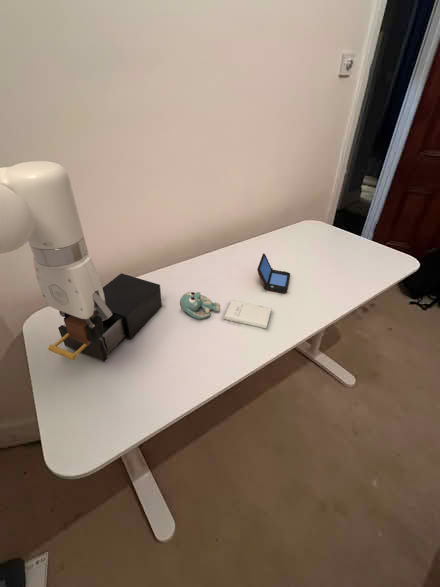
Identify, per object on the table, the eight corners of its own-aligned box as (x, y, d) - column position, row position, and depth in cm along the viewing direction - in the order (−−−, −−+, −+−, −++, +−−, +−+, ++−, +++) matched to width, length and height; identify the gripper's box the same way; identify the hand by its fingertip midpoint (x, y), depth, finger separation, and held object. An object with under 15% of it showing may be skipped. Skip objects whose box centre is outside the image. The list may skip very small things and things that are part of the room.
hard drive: (266, 329, 86) (224, 319, 88) (270, 311, 92) (231, 303, 95) (267, 325, 85) (224, 315, 87) (271, 307, 91) (231, 299, 94)
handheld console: (286, 294, 99) (290, 276, 95) (254, 288, 102) (256, 269, 97) (290, 275, 109) (294, 257, 105) (260, 269, 111) (263, 251, 107)
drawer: (87, 379, 69) (81, 361, 65) (46, 362, 72) (38, 343, 69) (139, 325, 84) (136, 307, 80) (103, 312, 88) (99, 295, 84)
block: (88, 345, 56) (82, 328, 53) (69, 337, 57) (63, 320, 54) (104, 330, 59) (99, 313, 56) (86, 323, 60) (81, 306, 58)
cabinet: (131, 339, 81) (126, 316, 76) (90, 324, 85) (83, 302, 80) (162, 306, 92) (160, 284, 87) (125, 294, 96) (121, 273, 91)
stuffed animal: (223, 308, 84) (180, 301, 82) (217, 326, 88) (176, 320, 86) (222, 285, 93) (183, 278, 91) (217, 303, 97) (179, 297, 95)
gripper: (-1, 246, 47) (38, 332, 58) (84, 274, 42) (109, 362, 53) (41, 228, 52) (68, 309, 63) (120, 250, 47) (135, 334, 58)
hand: (86, 332), depth 58 cm, fingers closed on block, 4 cm apart
